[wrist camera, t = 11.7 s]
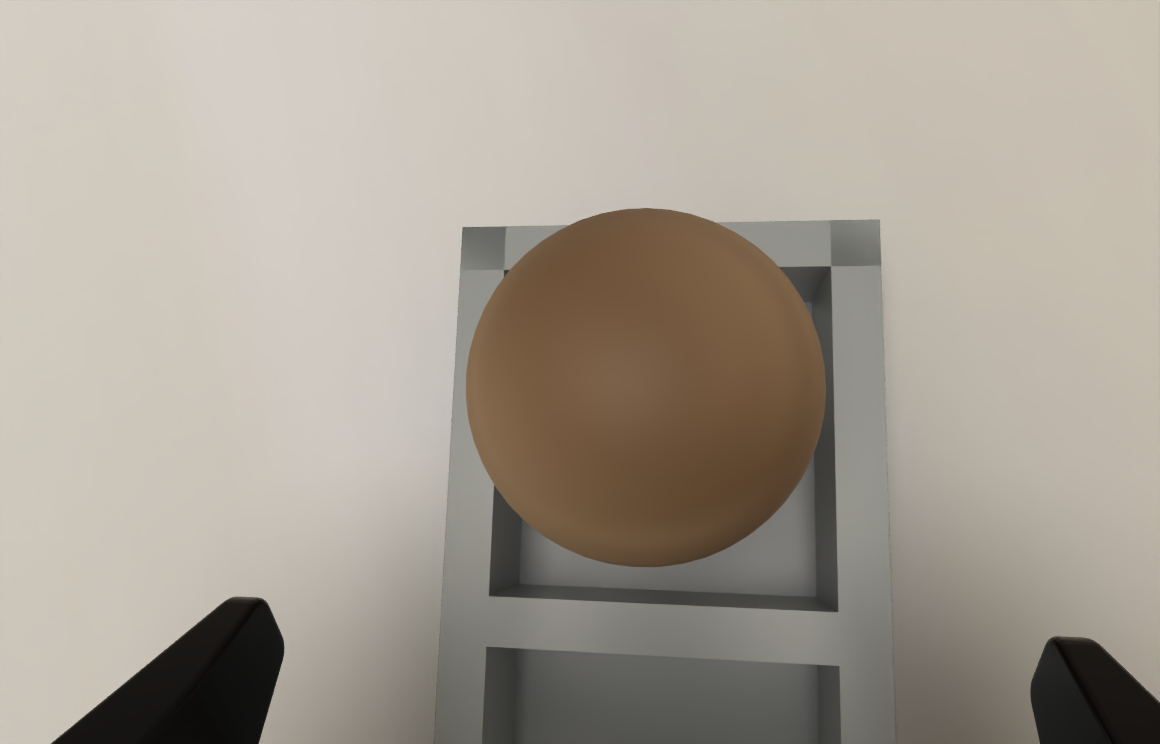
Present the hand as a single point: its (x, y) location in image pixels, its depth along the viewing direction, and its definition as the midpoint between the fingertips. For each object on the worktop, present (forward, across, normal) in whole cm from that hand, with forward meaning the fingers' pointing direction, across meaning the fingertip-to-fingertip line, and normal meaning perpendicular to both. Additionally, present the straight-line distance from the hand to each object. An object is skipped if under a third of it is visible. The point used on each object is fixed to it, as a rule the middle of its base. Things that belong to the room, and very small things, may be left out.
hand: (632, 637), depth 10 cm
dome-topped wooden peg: (+10, 0, +5) cm, 11 cm away
